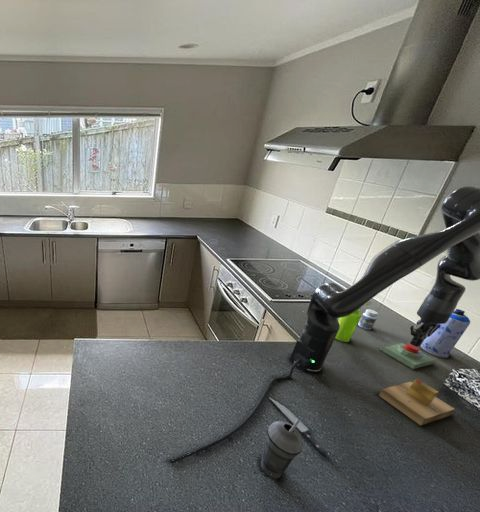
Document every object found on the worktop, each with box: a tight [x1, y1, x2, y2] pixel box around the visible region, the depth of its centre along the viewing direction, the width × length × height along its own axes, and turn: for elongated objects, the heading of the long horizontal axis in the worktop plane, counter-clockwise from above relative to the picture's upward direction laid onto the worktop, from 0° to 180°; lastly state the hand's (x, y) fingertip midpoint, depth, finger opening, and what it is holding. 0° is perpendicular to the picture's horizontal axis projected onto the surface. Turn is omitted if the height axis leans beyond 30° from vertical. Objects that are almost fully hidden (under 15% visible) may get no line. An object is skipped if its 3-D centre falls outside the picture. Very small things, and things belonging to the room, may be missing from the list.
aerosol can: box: [420, 308, 471, 358], centre depth 112 cm, size 8×8×20 cm
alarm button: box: [405, 343, 420, 353], centre depth 110 cm, size 4×4×2 cm
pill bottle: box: [357, 308, 379, 330], centre depth 128 cm, size 5×5×8 cm
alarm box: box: [382, 342, 435, 370], centre depth 111 cm, size 11×10×4 cm
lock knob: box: [407, 379, 439, 406], centre depth 89 cm, size 5×2×6 cm, turn 17°
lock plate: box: [378, 381, 456, 426], centre depth 90 cm, size 14×11×3 cm
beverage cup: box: [260, 418, 304, 479], centre depth 68 cm, size 7×7×20 cm
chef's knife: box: [269, 397, 327, 457], centre depth 83 cm, size 19×1×3 cm
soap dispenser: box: [335, 301, 372, 343], centre depth 118 cm, size 6×7×20 cm
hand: (414, 345), depth 109 cm, fingers closed
